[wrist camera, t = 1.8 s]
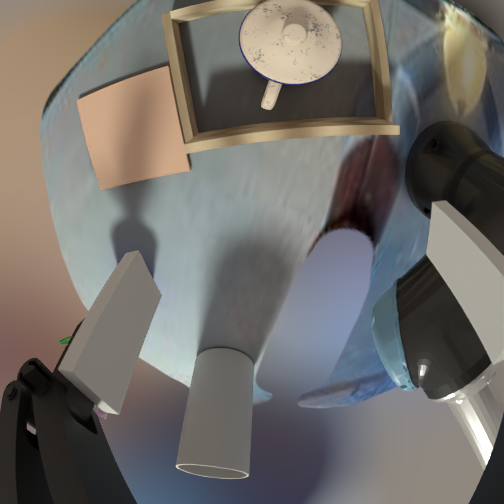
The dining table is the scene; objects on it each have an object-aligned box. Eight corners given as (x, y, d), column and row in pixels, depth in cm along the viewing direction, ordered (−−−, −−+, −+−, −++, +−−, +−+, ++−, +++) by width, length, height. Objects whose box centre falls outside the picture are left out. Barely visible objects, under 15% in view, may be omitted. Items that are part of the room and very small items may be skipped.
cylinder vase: (249, 344, 53) (242, 467, 32) (257, 377, 60) (253, 479, 39) (189, 346, 54) (164, 460, 34) (204, 377, 61) (189, 475, 40)
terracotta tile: (169, 65, 27) (167, 65, 26) (190, 169, 34) (189, 170, 34) (78, 100, 29) (76, 100, 28) (103, 188, 36) (101, 190, 36)
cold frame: (368, 1, 21) (390, -13, 15) (382, 124, 30) (407, 135, 24) (169, 19, 23) (148, 6, 17) (192, 142, 32) (176, 155, 27)
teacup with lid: (258, 9, 23) (254, -26, 13) (332, 33, 24) (365, 11, 14) (228, 95, 29) (210, 99, 20) (302, 117, 30) (320, 133, 21)
